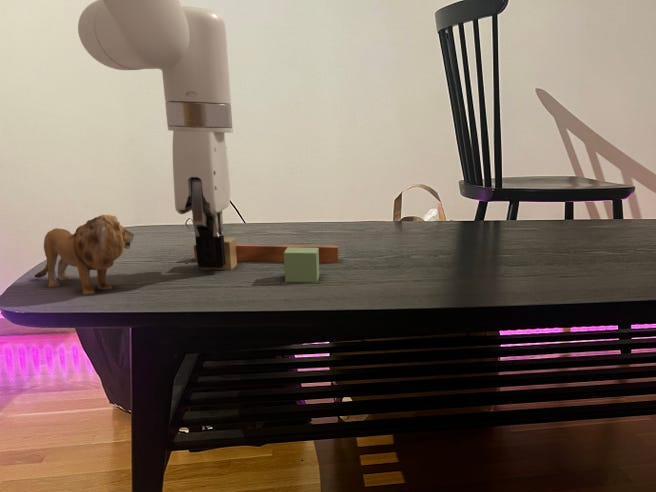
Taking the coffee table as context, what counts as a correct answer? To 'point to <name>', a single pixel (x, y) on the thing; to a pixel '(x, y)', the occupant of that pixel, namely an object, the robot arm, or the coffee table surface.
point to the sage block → (301, 264)
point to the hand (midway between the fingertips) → (212, 266)
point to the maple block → (228, 255)
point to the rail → (278, 252)
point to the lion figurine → (86, 250)
